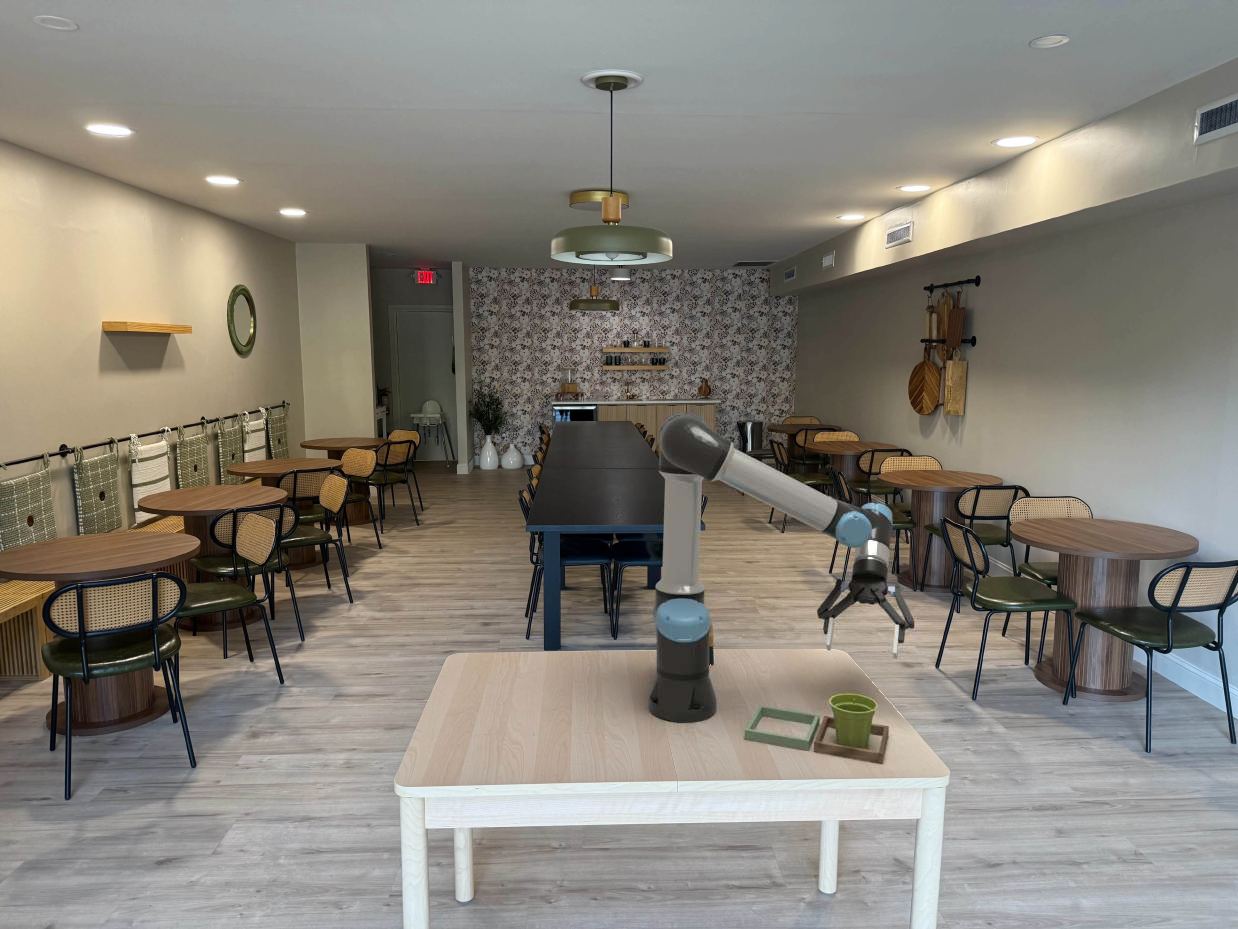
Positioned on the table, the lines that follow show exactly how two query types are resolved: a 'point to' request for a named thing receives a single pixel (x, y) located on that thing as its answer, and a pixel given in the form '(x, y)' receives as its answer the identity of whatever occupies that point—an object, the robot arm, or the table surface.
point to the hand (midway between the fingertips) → (861, 651)
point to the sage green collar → (778, 738)
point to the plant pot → (853, 719)
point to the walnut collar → (847, 750)
